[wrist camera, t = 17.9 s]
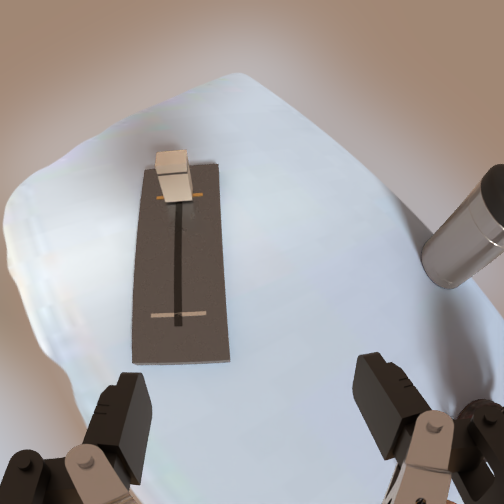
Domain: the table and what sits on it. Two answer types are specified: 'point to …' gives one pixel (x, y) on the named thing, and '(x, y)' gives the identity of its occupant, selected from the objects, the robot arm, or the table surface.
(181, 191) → the fader cap
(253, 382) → the table surface
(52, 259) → the table surface
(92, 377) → the table surface
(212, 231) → the grey fader track base
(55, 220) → the table surface
